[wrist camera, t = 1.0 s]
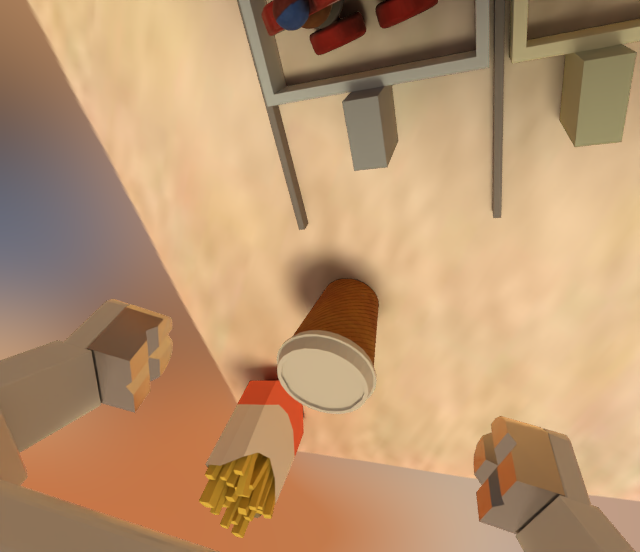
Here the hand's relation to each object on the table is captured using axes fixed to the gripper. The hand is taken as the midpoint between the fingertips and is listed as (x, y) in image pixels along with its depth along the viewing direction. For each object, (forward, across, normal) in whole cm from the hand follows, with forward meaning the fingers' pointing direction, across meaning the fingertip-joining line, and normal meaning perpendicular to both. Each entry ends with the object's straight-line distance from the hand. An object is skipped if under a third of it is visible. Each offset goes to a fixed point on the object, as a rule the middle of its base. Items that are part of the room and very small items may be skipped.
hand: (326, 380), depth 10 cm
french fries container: (+32, +4, +42) cm, 53 cm away
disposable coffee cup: (+31, -1, +21) cm, 37 cm away
